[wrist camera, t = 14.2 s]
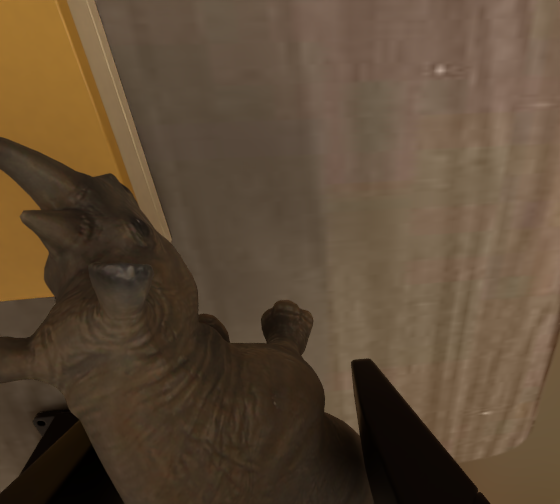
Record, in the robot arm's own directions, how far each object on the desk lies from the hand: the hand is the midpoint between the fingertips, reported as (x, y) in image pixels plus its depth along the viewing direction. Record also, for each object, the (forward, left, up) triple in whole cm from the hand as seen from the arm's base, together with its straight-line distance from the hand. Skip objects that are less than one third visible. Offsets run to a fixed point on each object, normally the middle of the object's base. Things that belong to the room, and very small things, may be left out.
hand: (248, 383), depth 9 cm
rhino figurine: (0, 0, -2) cm, 2 cm away
